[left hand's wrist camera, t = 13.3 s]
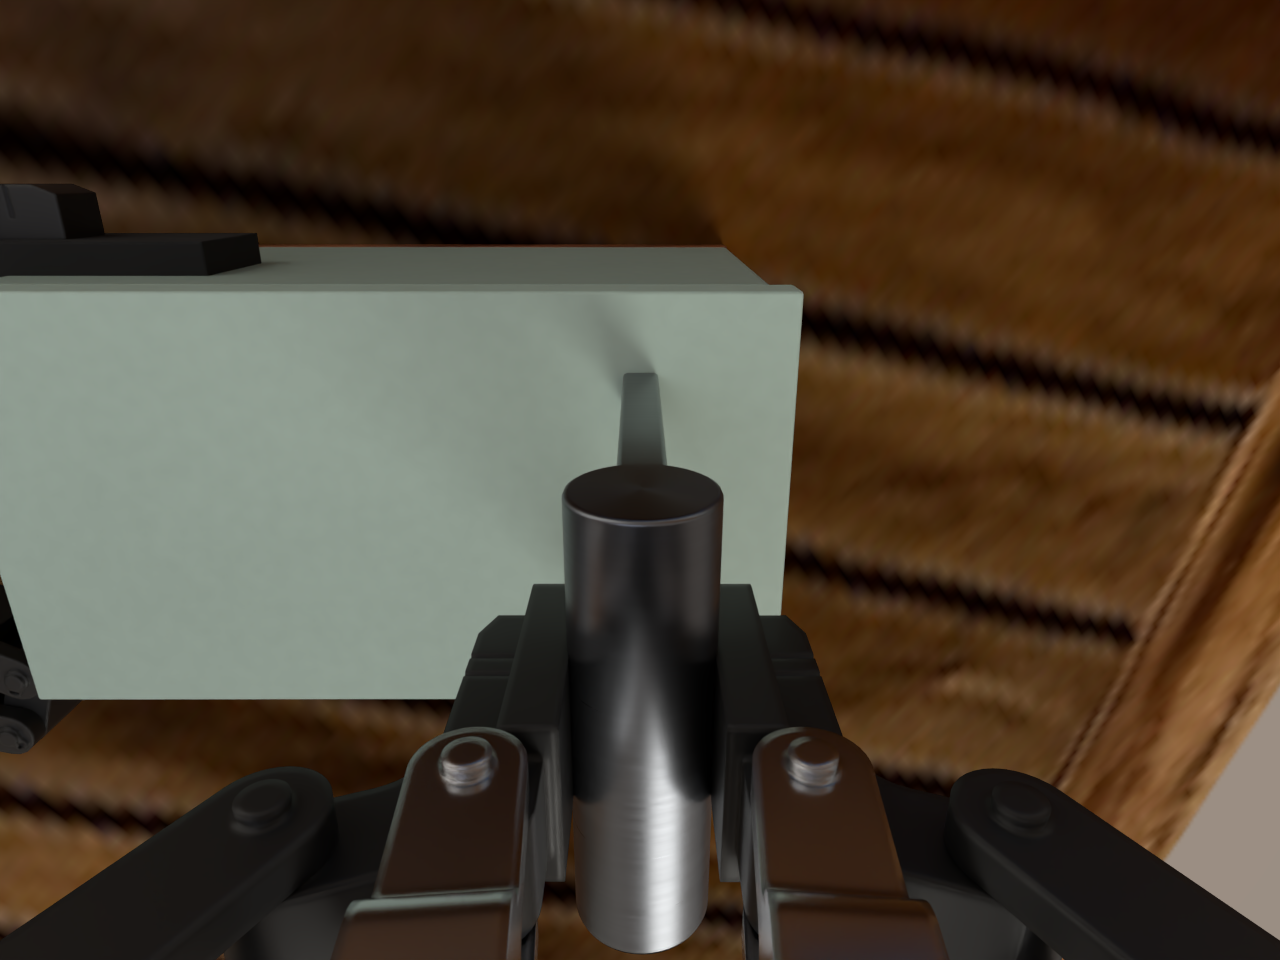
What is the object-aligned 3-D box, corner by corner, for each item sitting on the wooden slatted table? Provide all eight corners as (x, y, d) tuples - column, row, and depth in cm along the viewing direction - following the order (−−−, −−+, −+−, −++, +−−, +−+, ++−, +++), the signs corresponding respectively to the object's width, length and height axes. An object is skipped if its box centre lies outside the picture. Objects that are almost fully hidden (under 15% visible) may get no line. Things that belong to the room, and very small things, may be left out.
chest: (724, 244, 26) (771, 283, 16) (714, 515, 29) (748, 673, 20) (198, 244, 26) (-47, 283, 16) (249, 515, 29) (68, 673, 20)
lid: (794, 284, 16) (951, 393, 8) (768, 674, 20) (861, 1028, 12) (-48, 284, 16) (-733, 394, 8) (67, 674, 20) (-339, 1031, 12)
